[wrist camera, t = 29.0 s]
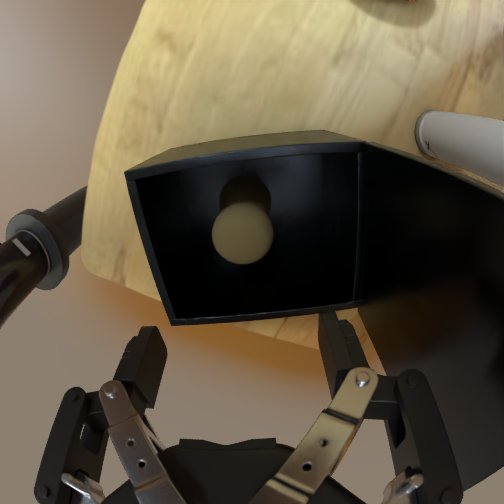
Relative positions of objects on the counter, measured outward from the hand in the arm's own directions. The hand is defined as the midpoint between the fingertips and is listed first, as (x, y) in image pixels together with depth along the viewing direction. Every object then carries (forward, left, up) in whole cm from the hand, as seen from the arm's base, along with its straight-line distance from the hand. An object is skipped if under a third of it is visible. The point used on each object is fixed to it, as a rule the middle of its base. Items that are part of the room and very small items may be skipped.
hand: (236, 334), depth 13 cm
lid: (+10, 0, +1) cm, 10 cm away
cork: (0, 0, -21) cm, 21 cm away
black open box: (+1, 0, -22) cm, 22 cm away
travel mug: (+25, +7, -22) cm, 34 cm away
